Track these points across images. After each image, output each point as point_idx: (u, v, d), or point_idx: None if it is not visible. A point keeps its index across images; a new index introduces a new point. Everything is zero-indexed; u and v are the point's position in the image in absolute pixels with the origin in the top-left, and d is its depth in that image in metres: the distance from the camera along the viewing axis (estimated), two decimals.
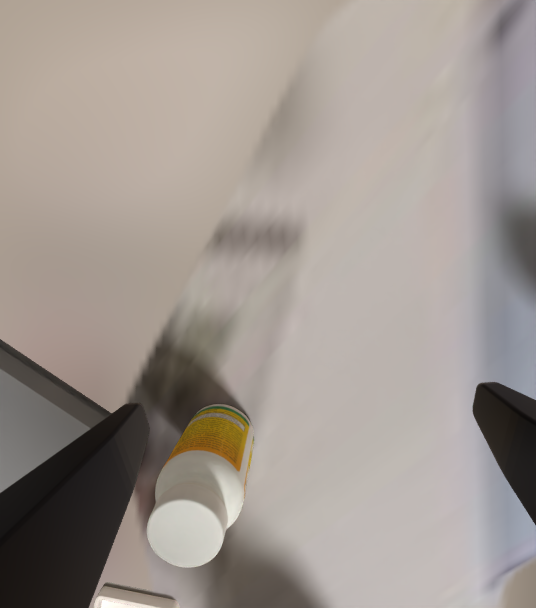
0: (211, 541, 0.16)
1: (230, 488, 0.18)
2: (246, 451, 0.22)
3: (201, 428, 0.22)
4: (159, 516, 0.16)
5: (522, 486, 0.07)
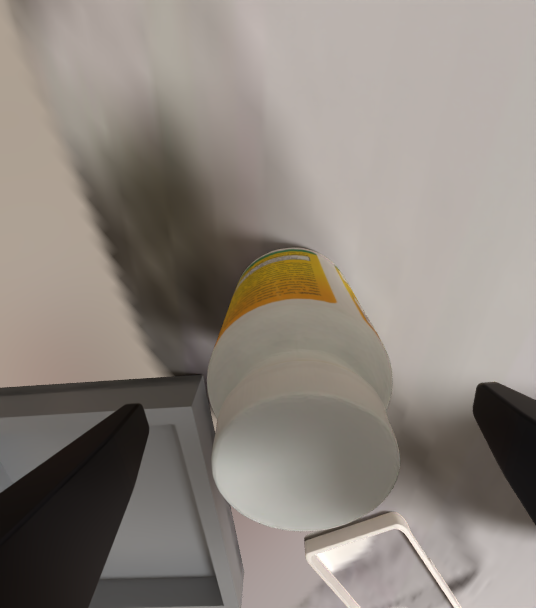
0: (369, 448, 0.06)
1: (338, 336, 0.08)
2: (334, 279, 0.11)
3: (236, 298, 0.11)
4: (228, 472, 0.07)
5: (522, 486, 0.07)
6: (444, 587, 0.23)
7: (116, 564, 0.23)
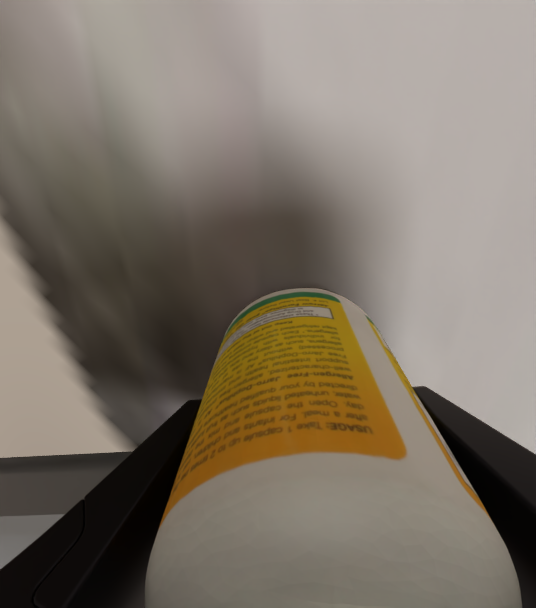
0: None
1: (429, 570, 0.03)
2: (377, 360, 0.07)
3: (213, 388, 0.07)
4: None
5: None
6: None
7: None
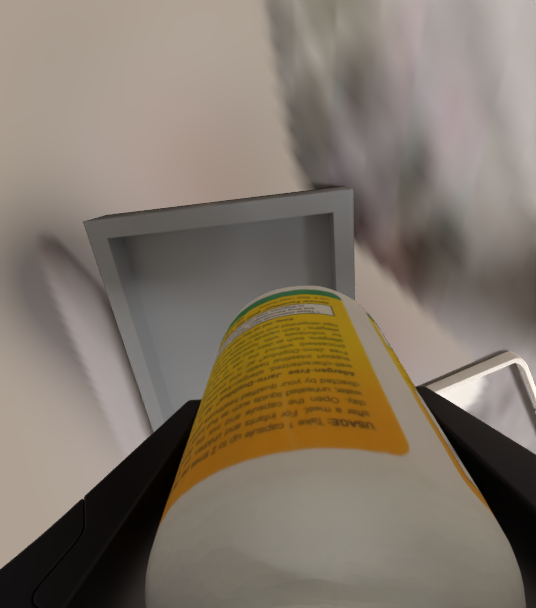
0: None
1: (432, 567, 0.03)
2: (379, 357, 0.07)
3: (213, 385, 0.07)
4: None
5: None
6: None
7: None
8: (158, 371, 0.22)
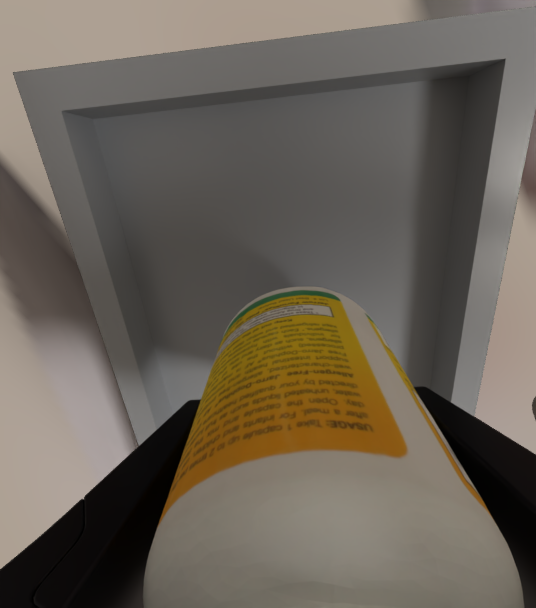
0: None
1: (430, 570, 0.03)
2: (377, 358, 0.07)
3: (212, 386, 0.07)
4: None
5: None
6: None
7: None
8: (153, 367, 0.14)
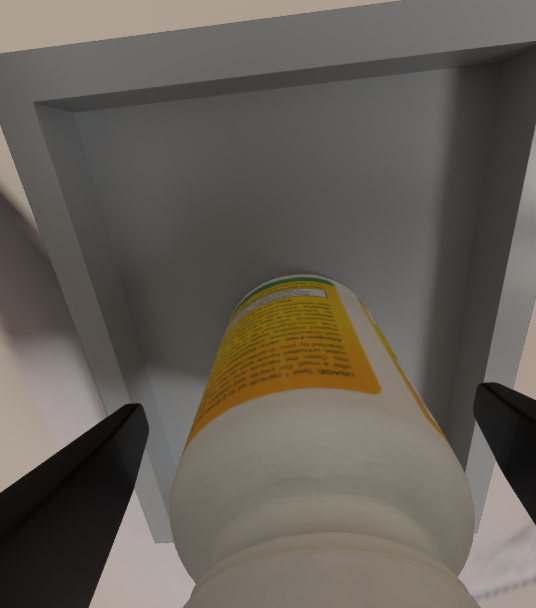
0: None
1: (393, 469, 0.04)
2: (364, 330, 0.08)
3: (222, 356, 0.08)
4: None
5: (522, 486, 0.07)
6: None
7: None
8: (145, 386, 0.13)
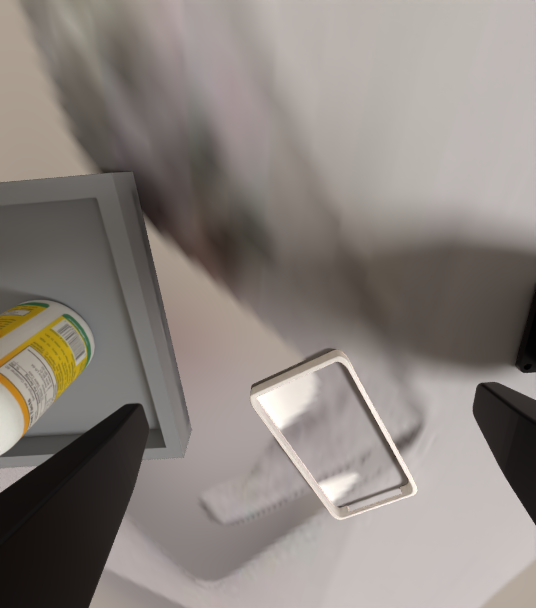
0: None
1: None
2: (19, 333, 0.16)
3: None
4: None
5: (522, 486, 0.07)
6: (389, 438, 0.23)
7: (58, 415, 0.23)
8: None
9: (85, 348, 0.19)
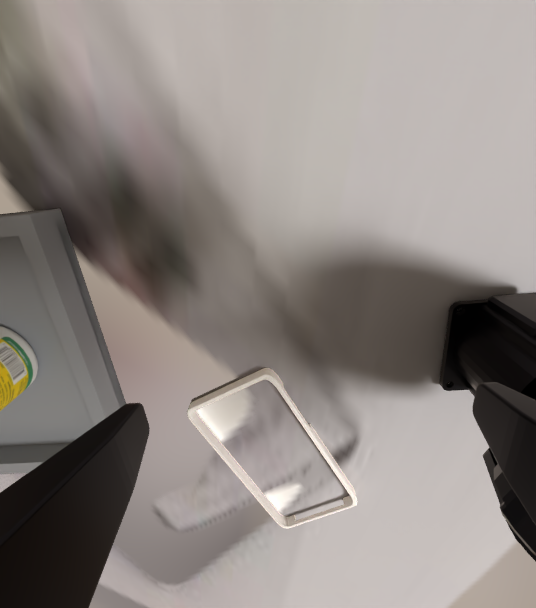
0: None
1: None
2: None
3: None
4: None
5: (522, 486, 0.07)
6: (323, 451, 0.24)
7: (12, 427, 0.24)
8: None
9: (25, 367, 0.20)
